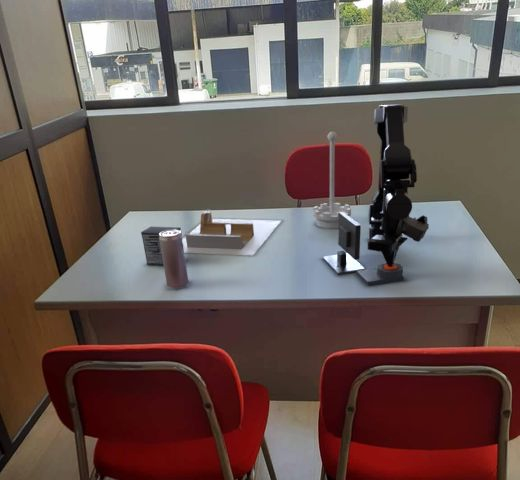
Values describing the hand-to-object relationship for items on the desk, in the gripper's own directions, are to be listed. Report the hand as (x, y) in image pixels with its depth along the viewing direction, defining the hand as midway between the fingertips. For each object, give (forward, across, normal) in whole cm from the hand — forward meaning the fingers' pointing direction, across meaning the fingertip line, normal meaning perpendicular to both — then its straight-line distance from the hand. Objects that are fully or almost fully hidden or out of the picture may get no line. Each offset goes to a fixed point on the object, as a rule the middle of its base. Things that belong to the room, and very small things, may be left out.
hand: (390, 266), depth 138 cm
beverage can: (+4, -28, +50) cm, 58 cm away
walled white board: (+4, +12, +63) cm, 64 cm away
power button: (+2, 0, 0) cm, 2 cm away
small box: (+4, -16, +65) cm, 67 cm away
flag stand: (+4, +37, +35) cm, 51 cm away
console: (+3, -1, +2) cm, 4 cm away
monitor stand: (+3, +4, +14) cm, 15 cm away
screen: (-1, +4, +14) cm, 15 cm away
